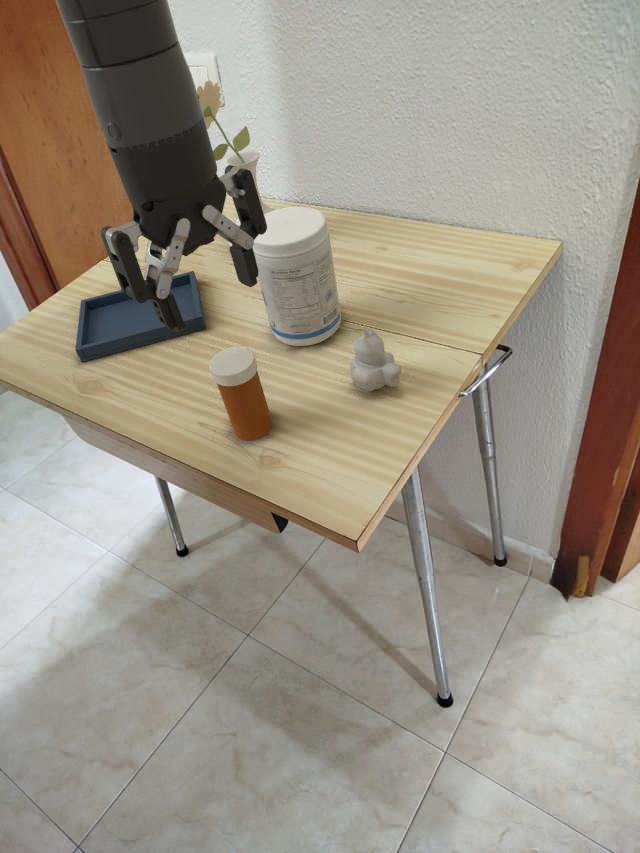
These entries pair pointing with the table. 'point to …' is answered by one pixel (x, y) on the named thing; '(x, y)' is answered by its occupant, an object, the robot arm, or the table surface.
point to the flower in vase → (242, 139)
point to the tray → (134, 320)
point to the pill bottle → (241, 392)
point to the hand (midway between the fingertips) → (213, 305)
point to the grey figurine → (373, 363)
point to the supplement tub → (298, 276)
